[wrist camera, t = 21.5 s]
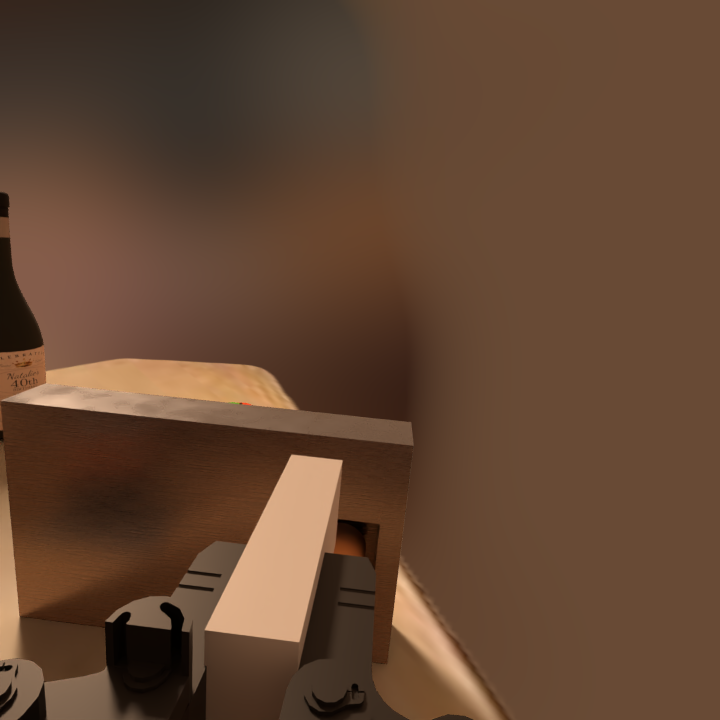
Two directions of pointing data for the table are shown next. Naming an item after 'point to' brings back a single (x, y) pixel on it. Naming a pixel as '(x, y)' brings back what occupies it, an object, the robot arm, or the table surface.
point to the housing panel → (176, 492)
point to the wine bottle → (16, 326)
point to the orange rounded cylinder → (349, 541)
